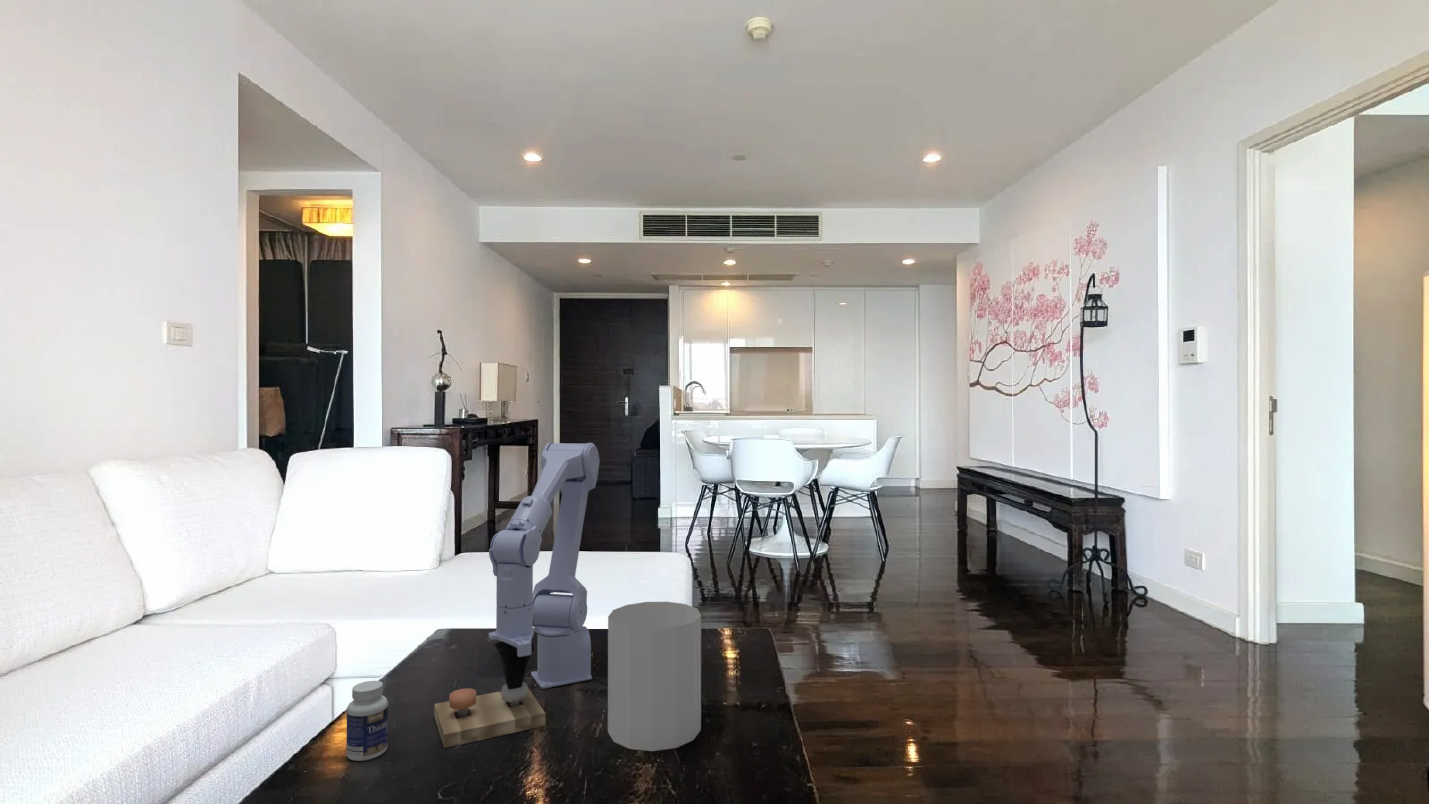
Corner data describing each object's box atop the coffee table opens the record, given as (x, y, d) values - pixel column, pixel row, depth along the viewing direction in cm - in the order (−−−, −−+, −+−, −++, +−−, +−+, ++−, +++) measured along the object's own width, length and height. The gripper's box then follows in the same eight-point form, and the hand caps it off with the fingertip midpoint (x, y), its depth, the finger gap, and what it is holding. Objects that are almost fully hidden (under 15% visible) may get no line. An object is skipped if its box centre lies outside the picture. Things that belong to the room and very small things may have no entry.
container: (599, 718, 111) (599, 607, 112) (682, 703, 117) (682, 597, 117) (623, 759, 98) (623, 633, 98) (715, 740, 104) (715, 621, 104)
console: (527, 697, 119) (527, 686, 119) (545, 725, 108) (545, 713, 108) (434, 716, 112) (434, 704, 112) (444, 748, 101) (444, 734, 101)
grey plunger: (523, 703, 115) (523, 680, 115) (529, 712, 111) (529, 688, 111) (499, 708, 113) (499, 684, 113) (504, 718, 109) (504, 693, 109)
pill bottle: (370, 764, 97) (371, 694, 97) (337, 760, 98) (338, 691, 98) (395, 745, 102) (396, 680, 102) (364, 742, 103) (364, 677, 103)
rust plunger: (473, 710, 111) (474, 686, 111) (478, 720, 107) (478, 695, 107) (447, 716, 109) (447, 691, 109) (451, 726, 105) (451, 700, 105)
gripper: (481, 596, 117) (480, 676, 116) (498, 618, 104) (498, 709, 104) (523, 591, 120) (522, 668, 120) (544, 612, 107) (544, 699, 107)
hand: (514, 687), depth 112 cm, fingers closed, pressing on grey plunger
